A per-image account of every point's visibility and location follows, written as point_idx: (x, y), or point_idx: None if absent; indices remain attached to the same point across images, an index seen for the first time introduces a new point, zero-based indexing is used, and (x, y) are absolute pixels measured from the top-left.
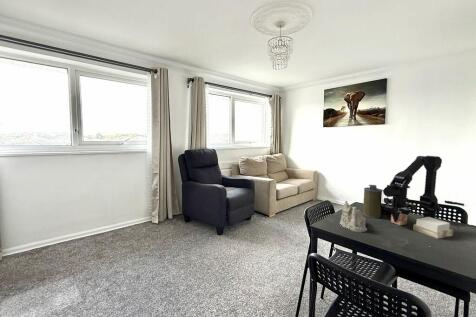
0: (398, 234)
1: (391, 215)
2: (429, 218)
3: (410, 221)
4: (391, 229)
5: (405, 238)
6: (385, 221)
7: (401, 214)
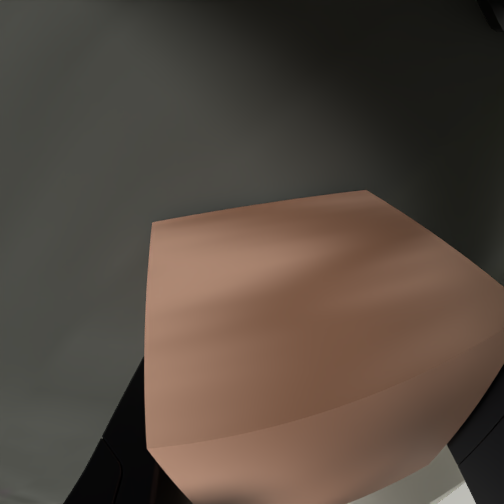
0: (33, 473)
1: (147, 343)
2: (433, 502)
3: (492, 229)
4: (8, 420)
5: (56, 497)
6: (68, 141)
7: (372, 477)
